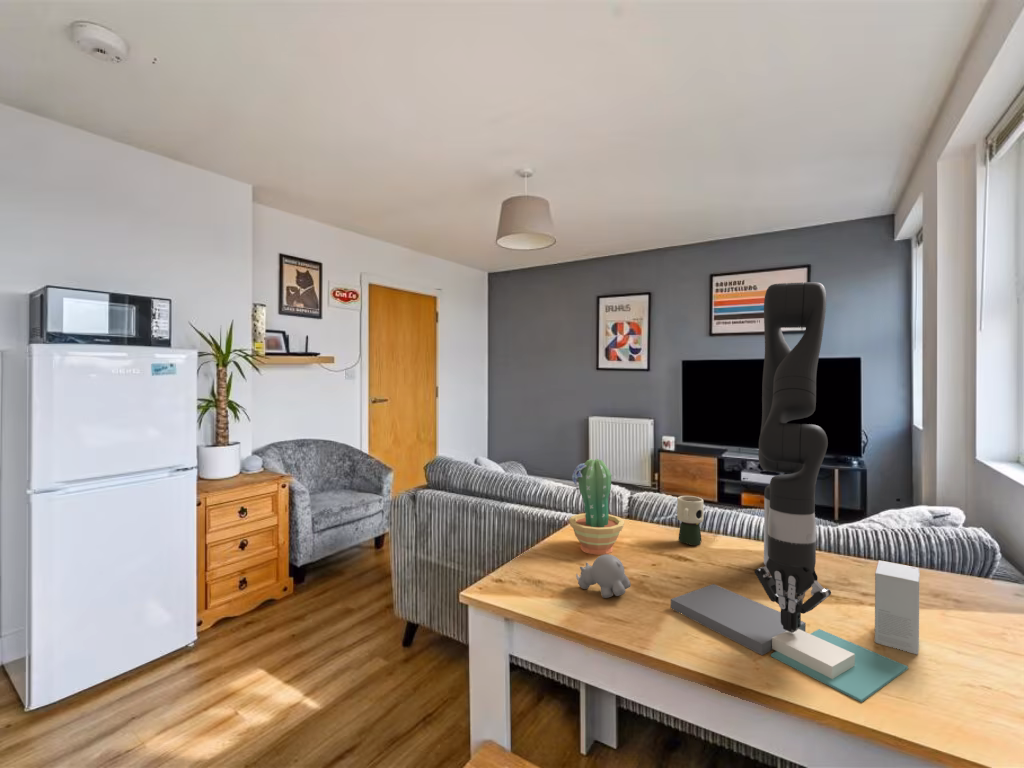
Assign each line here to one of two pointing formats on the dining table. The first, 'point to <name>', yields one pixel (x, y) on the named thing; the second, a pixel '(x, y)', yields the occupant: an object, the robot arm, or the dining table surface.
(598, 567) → the chubby cartoon animal
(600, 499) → the potted cactus
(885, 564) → the small box
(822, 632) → the teal mat
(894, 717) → the dining table surface
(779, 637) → the cream tile
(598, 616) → the dining table surface
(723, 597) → the plate
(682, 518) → the character mug
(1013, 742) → the dining table surface
